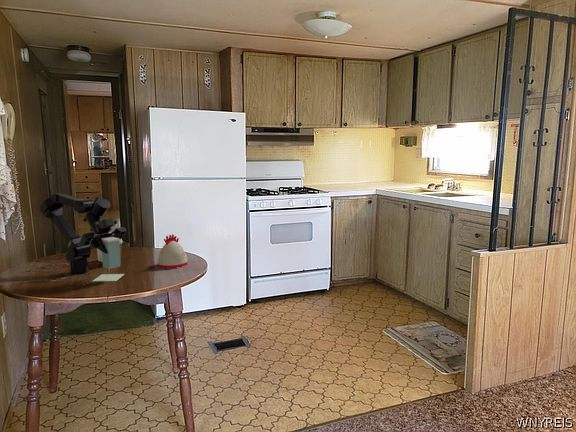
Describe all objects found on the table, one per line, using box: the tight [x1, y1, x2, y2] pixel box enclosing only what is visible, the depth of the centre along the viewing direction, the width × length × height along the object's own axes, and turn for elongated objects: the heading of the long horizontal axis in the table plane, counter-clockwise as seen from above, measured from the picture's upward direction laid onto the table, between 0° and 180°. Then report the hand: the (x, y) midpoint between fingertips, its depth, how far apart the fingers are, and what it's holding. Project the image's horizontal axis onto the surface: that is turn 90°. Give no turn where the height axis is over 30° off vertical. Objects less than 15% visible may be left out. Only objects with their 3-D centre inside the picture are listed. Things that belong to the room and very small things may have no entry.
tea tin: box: [102, 237, 122, 270], centre depth 178 cm, size 5×5×12 cm
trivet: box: [91, 273, 125, 282], centre depth 183 cm, size 10×10×1 cm
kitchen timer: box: [157, 234, 189, 269], centre depth 202 cm, size 14×14×15 cm
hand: (112, 251), depth 177 cm, fingers closed on tea tin, 5 cm apart
